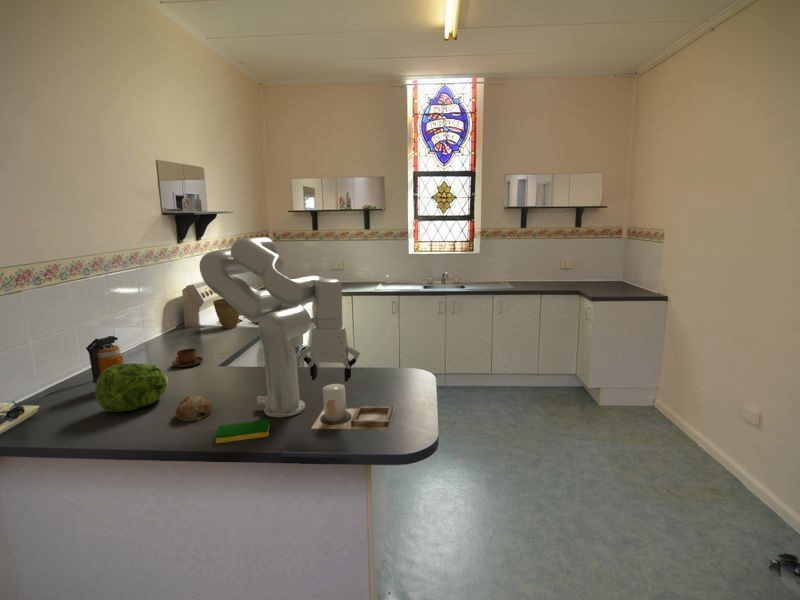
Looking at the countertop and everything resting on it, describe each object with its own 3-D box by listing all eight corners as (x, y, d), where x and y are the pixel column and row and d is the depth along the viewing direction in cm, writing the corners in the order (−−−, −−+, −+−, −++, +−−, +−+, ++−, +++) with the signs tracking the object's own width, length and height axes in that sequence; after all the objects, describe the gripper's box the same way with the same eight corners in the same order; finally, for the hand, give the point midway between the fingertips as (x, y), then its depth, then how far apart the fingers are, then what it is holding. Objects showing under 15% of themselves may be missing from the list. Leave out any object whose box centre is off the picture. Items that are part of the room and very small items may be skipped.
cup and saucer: (195, 369, 195) (194, 354, 194) (167, 369, 196) (165, 355, 195) (208, 360, 207) (206, 346, 206) (181, 361, 207) (179, 347, 206)
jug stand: (311, 431, 133) (310, 423, 133) (324, 411, 147) (323, 403, 146) (388, 432, 131) (388, 424, 130) (394, 412, 144) (394, 404, 144)
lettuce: (179, 409, 160) (182, 363, 163) (118, 412, 142) (123, 361, 144) (148, 409, 168) (151, 365, 170) (86, 412, 149) (90, 363, 152)
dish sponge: (219, 433, 135) (218, 425, 135) (269, 426, 138) (268, 419, 138) (216, 444, 129) (215, 436, 128) (268, 437, 132) (267, 429, 131)
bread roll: (186, 435, 143) (191, 414, 140) (166, 415, 147) (170, 394, 144) (215, 422, 151) (219, 402, 148) (195, 403, 155) (199, 384, 152)
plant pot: (247, 324, 277) (245, 297, 274) (236, 330, 262) (233, 301, 259) (223, 324, 278) (220, 297, 275) (210, 330, 264) (207, 302, 261)
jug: (327, 412, 143) (325, 383, 141) (348, 412, 142) (346, 383, 140) (320, 425, 134) (317, 394, 132) (342, 425, 133) (340, 394, 132)
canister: (132, 386, 176) (125, 334, 173) (103, 397, 166) (94, 342, 163) (116, 384, 180) (109, 333, 176) (87, 394, 170) (78, 340, 167)
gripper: (295, 324, 132) (297, 382, 135) (356, 326, 130) (357, 385, 133) (303, 318, 139) (305, 373, 142) (361, 320, 137) (362, 376, 140)
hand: (330, 379), depth 138 cm, fingers open, 9 cm apart
